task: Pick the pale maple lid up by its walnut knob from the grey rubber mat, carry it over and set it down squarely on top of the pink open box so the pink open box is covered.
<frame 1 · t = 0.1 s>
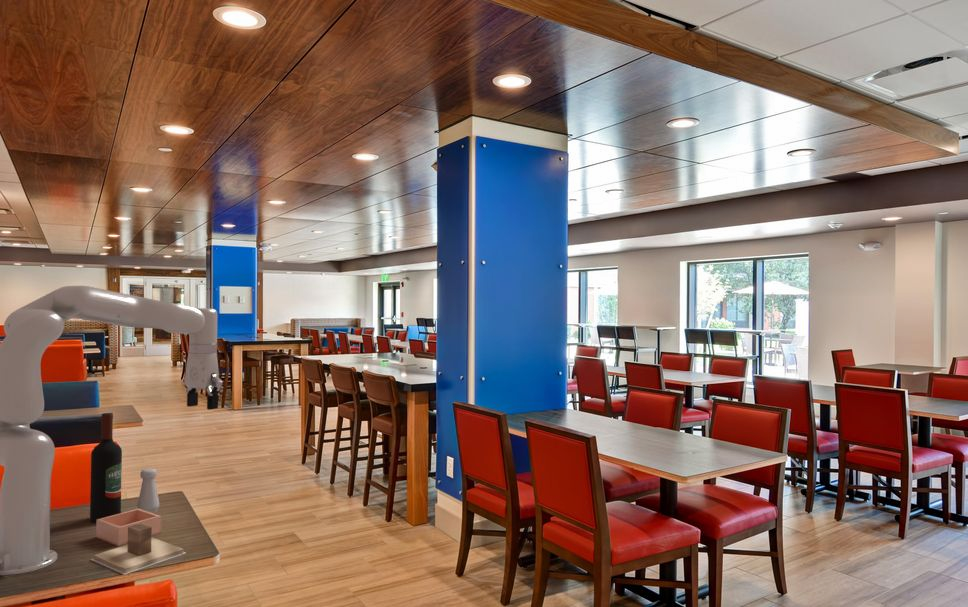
hand: (202, 407, 184), 31 cm above the table, fingers open, 9 cm apart
mat: (139, 557, 150), on the table
lid: (139, 556, 150), resting on mat
salt shaker: (148, 514, 182), on the table
pink open box: (128, 536, 164), on the table
wine bottle: (105, 518, 178), on the table
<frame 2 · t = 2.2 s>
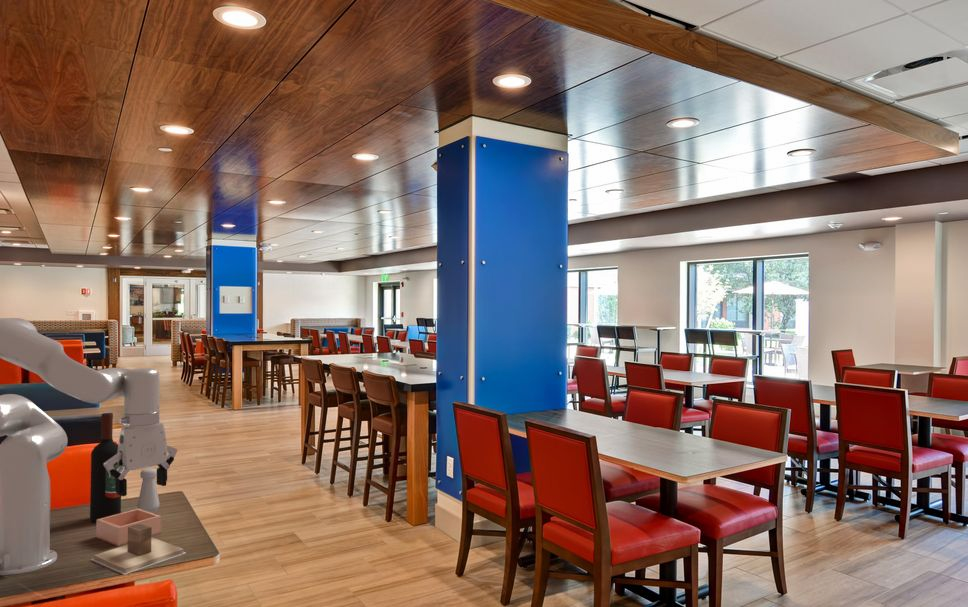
hand: (142, 490, 150), 16 cm above the table, fingers open, 9 cm apart
nothing on the table moved.
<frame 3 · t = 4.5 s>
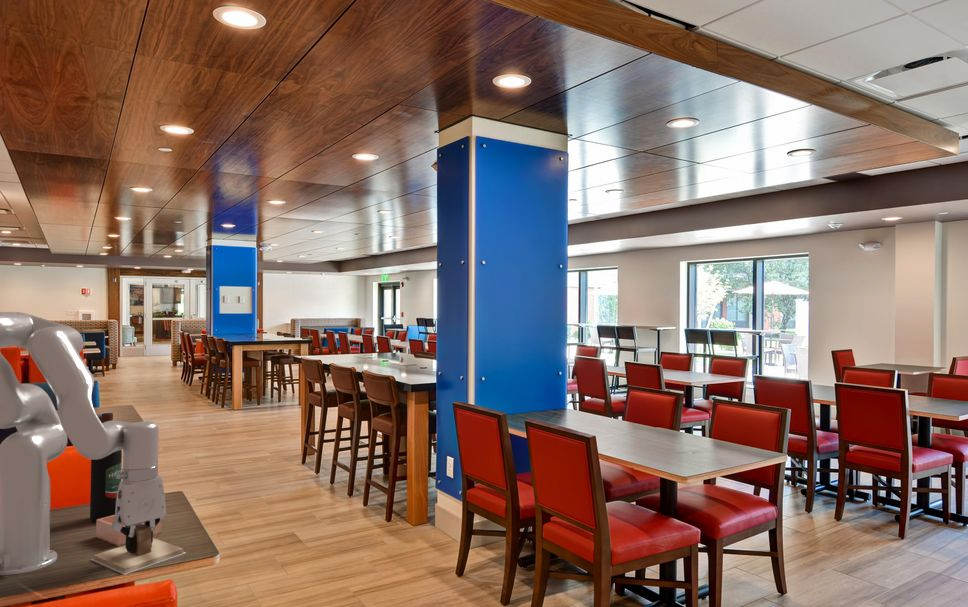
hand: (139, 548, 150), 2 cm above the table, fingers closed on lid, 3 cm apart
lid: (139, 556, 150), resting on mat, touching gripper
everything else where it was.
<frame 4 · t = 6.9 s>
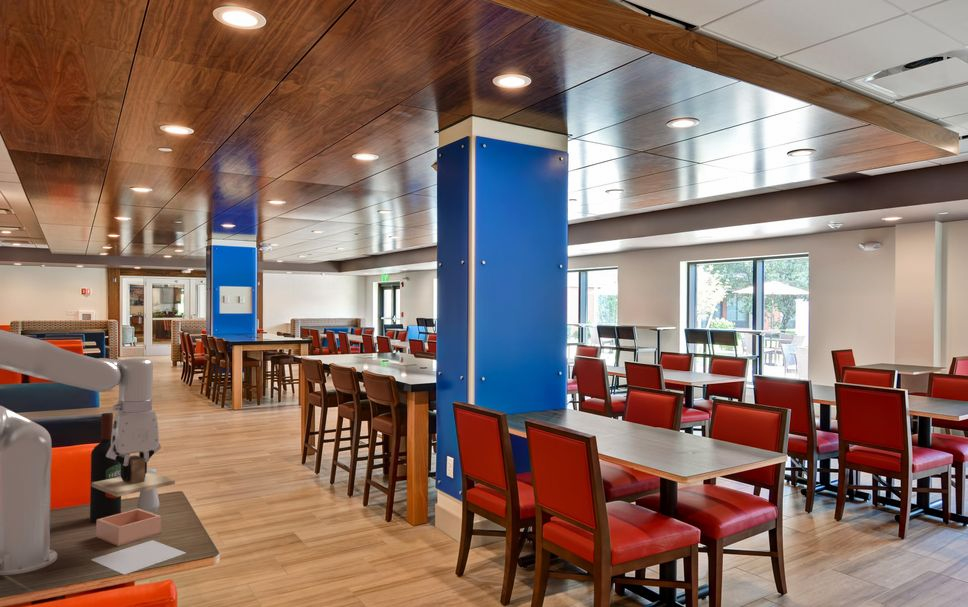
hand: (133, 478, 158), 17 cm above the table, fingers closed on lid, 3 cm apart
lid: (133, 485, 158), point 15 cm above the table, touching gripper
everything else where it was.
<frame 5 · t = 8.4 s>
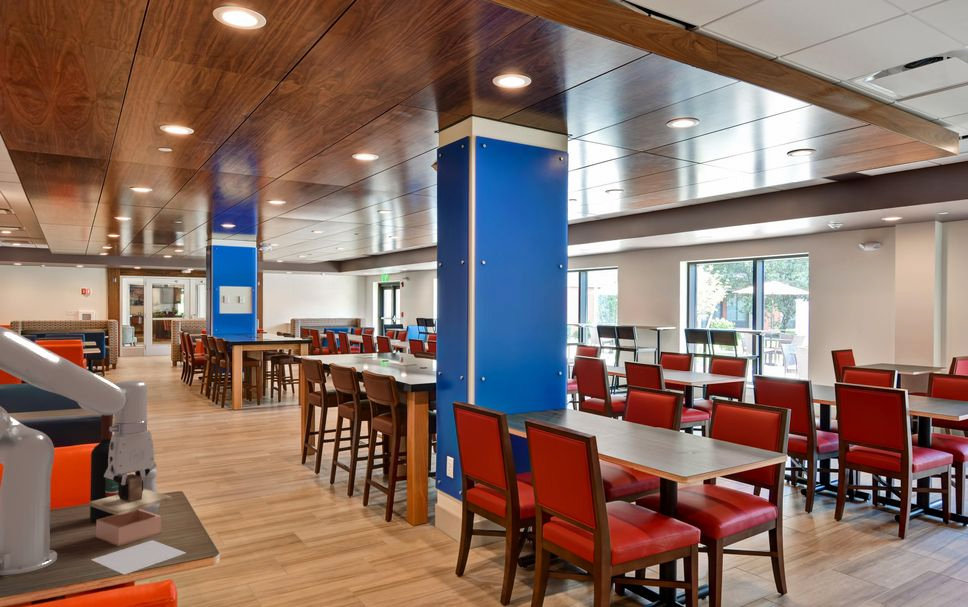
hand: (130, 496, 164), 11 cm above the table, fingers closed on lid, 3 cm apart
lid: (131, 502, 164), point 9 cm above the table, touching gripper
everything else where it was.
when the fingers open (8 cm above the table, at t = 9.4 s): lid drops 2 cm, resting on pink open box.
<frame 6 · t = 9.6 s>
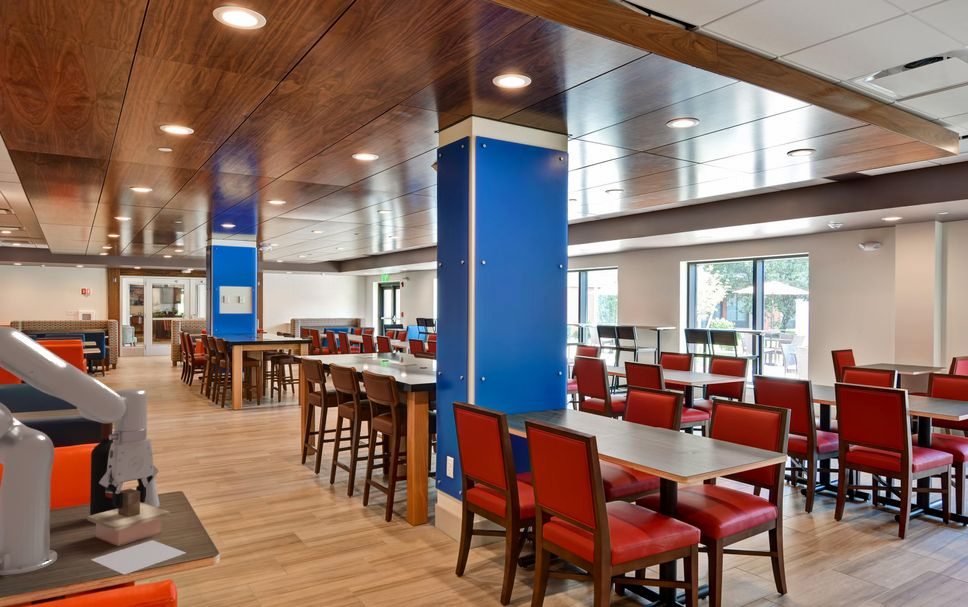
hand: (129, 503, 164), 9 cm above the table, fingers open, 5 cm apart
lid: (128, 517, 164), point 5 cm above the table, touching pink open box
everything else where it was.
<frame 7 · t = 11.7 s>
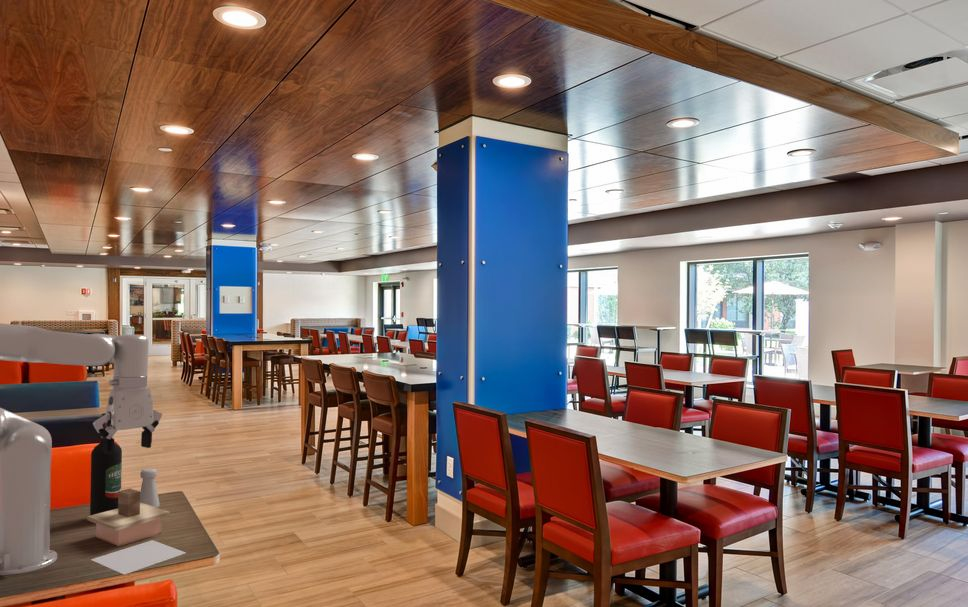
hand: (127, 450, 157), 24 cm above the table, fingers open, 9 cm apart
nothing on the table moved.
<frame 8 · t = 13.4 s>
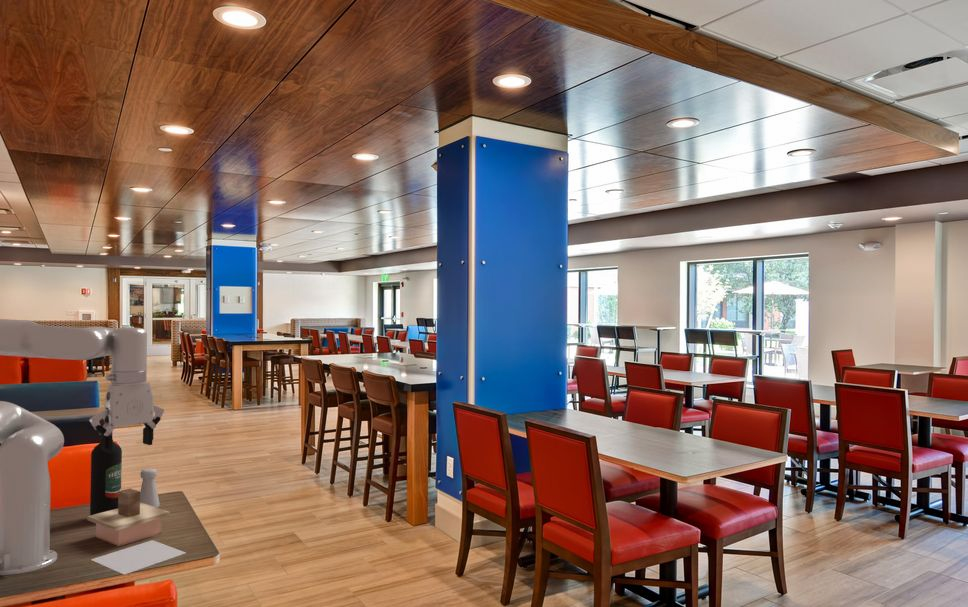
hand: (127, 447, 152), 26 cm above the table, fingers open, 9 cm apart
nothing on the table moved.
at the end: lid 0.1 cm off-centre on the pink open box, point 5.0 cm above the pink open box's base; lid tilted 0°; the gripper is holding nothing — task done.
